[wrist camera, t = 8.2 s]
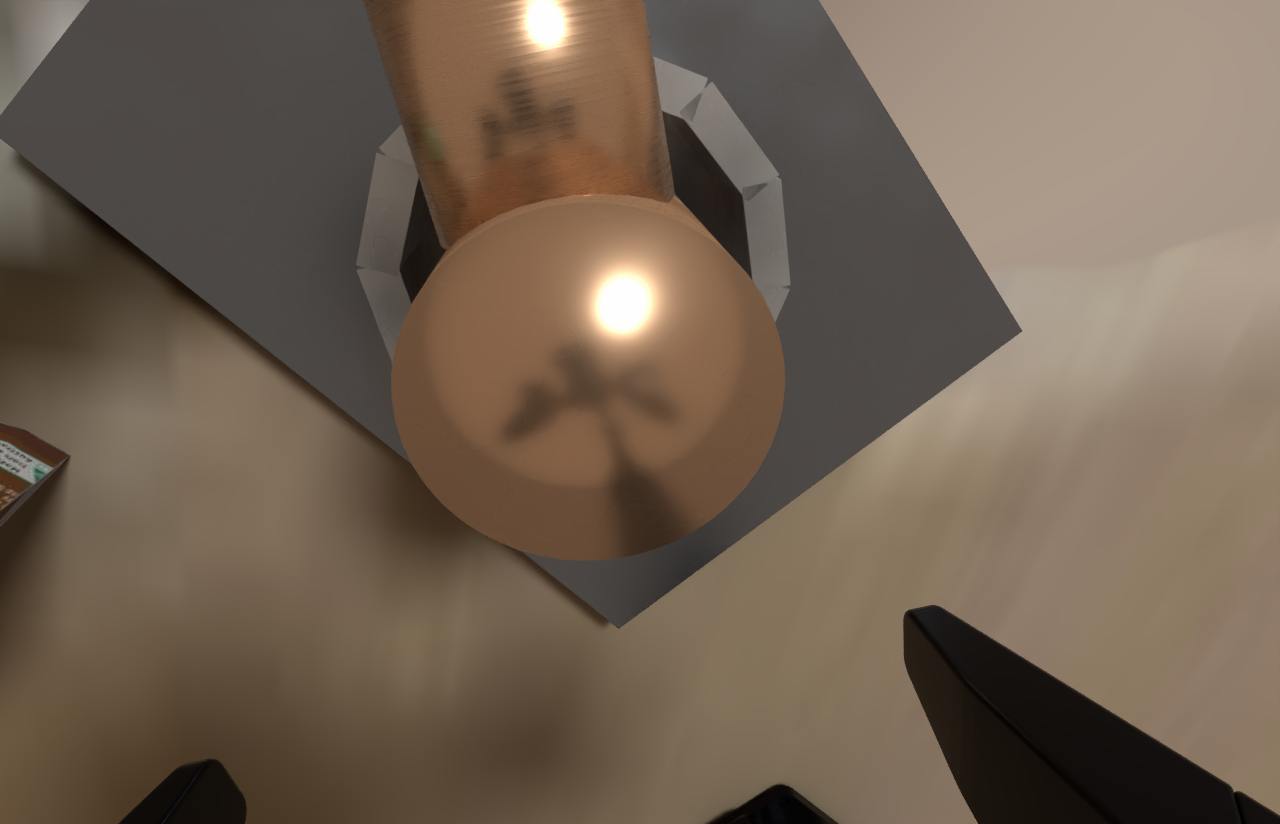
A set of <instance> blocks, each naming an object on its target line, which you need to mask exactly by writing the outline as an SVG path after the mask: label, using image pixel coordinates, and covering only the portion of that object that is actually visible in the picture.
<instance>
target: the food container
mask: <svg viewBox="0 0 1280 824" xmlns="http://www.w3.org/2000/svg"><path fill="white" fill-rule="evenodd" d="M69 456H70V455H68V454H67V453H65V452H63V451H61V450H60V449H58V448H56V447H54V446H52V445H51V444H49V443H47V442H45V441H44V440H42V439H40V438H38V437H37V436H35V435H33V434H31V433H29V432H28V431H26V430H23V429H20V428H17V427H14V426H11V425H8V424H5V423H2V422H0V527H1V526H2V525H3V524H4V523H5V522H6V521H7V519H8V518H9V517H10V516H11V515H12V514H13V513H14V512H15V511H16V510H17V509H18V508H19V507H20V506H21V505H22V504H23V503H24V502H25V501H26V500H27V499H28V498H29V497H30V496H31V495H32V494H33V493H34V492H35V491H36V490H37V489H38V488H39V487H40V486H41V485H42V484H43V483H44V482H45V481H46V480H47V479H48V478H49V477H50V476H51V475H52V474H53V473H54V472H55V471H56V470H57V469H58V468H59V467H60V466H61V465H62V464H63V462H64V461H65V460H66V459H67V458H68V457H69Z"/></svg>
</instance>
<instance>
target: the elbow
mask: <svg viewBox="0 0 1280 824" xmlns="http://www.w3.org/2000/svg"><path fill="white" fill-rule="evenodd" d="M362 1H363V4H364V7H365V10H366V13H367V17H368V20H369V23H370V26H371V29H372V32H373V35H374V39H375V42H376V45H377V48H378V51H379V54H380V57H381V60H382V64H383V67H384V70H385V73H386V76H387V79H388V82H389V85H390V89H391V92H392V95H393V98H394V101H395V104H396V107H397V111H398V114H399V117H400V120H401V123H402V126H403V129H404V132H405V136H406V139H407V142H408V145H409V148H410V151H411V154H412V158H413V161H414V164H415V167H416V170H417V173H418V176H419V179H420V183H421V186H422V189H423V192H424V195H425V198H426V201H427V205H428V208H429V211H430V214H431V217H432V220H433V223H434V226H435V230H436V233H437V236H438V239H439V242H440V245H441V247H443V248H444V249H446V251H445V253H444V254H443V256H442V257H441V259H440V260H439V262H438V263H437V265H436V267H435V268H434V270H433V271H432V273H431V274H430V276H429V277H428V279H427V281H426V282H425V284H424V285H423V287H422V288H421V290H420V291H419V293H418V295H417V296H416V298H415V299H414V301H413V302H412V305H411V307H410V309H409V311H408V313H407V315H406V317H405V320H404V322H403V324H402V326H401V330H400V333H399V336H398V340H397V343H396V347H395V350H394V357H393V365H392V372H391V397H392V405H393V411H394V417H395V423H396V426H397V429H398V432H399V435H400V438H401V441H402V445H403V447H404V449H405V451H406V453H407V455H408V457H409V459H410V461H411V463H412V465H413V467H414V469H415V470H416V472H417V473H418V475H419V476H420V478H421V479H422V481H423V482H424V484H425V485H426V486H427V487H428V489H429V490H430V491H431V492H432V493H433V494H434V495H435V497H436V498H437V499H438V500H439V501H440V502H441V503H442V504H443V505H444V506H445V507H446V508H447V509H448V510H450V511H451V512H452V513H453V514H454V515H455V516H456V517H457V518H459V519H460V520H462V521H463V522H465V523H466V524H467V525H469V526H470V527H472V528H473V529H475V530H476V531H478V532H480V533H482V534H483V535H485V536H487V537H489V538H491V539H493V540H495V541H497V542H499V543H502V544H504V545H507V546H509V547H512V548H514V549H517V550H520V551H524V552H527V553H531V554H535V555H538V556H543V557H549V558H556V559H562V560H580V561H591V560H609V559H615V558H621V557H627V556H632V555H636V554H640V553H643V552H647V551H651V550H654V549H657V548H659V547H662V546H664V545H667V544H669V543H672V542H674V541H676V540H678V539H680V538H682V537H684V536H686V535H688V534H690V533H692V532H694V531H695V530H697V529H698V528H700V527H701V526H703V525H704V524H706V523H707V522H709V521H710V520H712V519H713V518H714V517H715V516H717V515H718V514H719V513H720V512H721V511H722V510H724V509H725V508H726V507H727V506H728V505H730V504H731V502H732V501H733V500H734V499H735V498H736V497H737V496H738V495H739V494H740V493H741V492H742V491H743V490H744V489H745V487H746V486H747V485H748V483H749V482H750V480H751V479H752V478H753V476H754V475H755V474H756V472H757V471H758V469H759V468H760V466H761V464H762V462H763V460H764V459H765V457H766V455H767V453H768V451H769V449H770V447H771V444H772V442H773V439H774V437H775V434H776V432H777V429H778V425H779V421H780V417H781V413H782V409H783V401H784V392H785V363H784V357H783V351H782V345H781V340H780V337H779V334H778V330H777V327H776V324H775V321H774V318H773V316H772V314H771V312H770V310H769V308H768V306H767V304H766V302H765V300H764V298H763V296H762V294H761V293H760V291H759V290H758V288H757V287H756V285H755V284H754V283H753V281H752V280H751V278H750V277H749V275H748V274H747V273H746V272H745V271H744V270H743V268H742V267H741V266H740V265H739V264H738V263H737V262H736V261H735V260H734V259H733V257H732V256H731V255H730V254H729V253H728V252H727V251H726V250H725V249H724V248H723V246H722V245H721V244H720V243H719V242H718V241H717V240H716V239H715V238H714V237H713V235H712V234H711V233H710V232H709V231H708V230H707V229H706V228H705V227H704V226H703V224H702V223H701V222H700V221H699V220H698V219H697V218H696V217H695V216H694V215H693V213H692V212H691V211H690V210H689V209H688V208H687V207H686V206H685V205H684V204H683V202H682V201H681V200H680V199H679V198H678V197H677V196H676V195H675V190H674V184H673V178H672V172H671V165H670V159H669V153H668V146H667V140H666V134H665V127H664V121H663V115H662V109H661V102H660V96H659V90H658V83H657V77H656V71H655V64H654V58H653V52H652V46H651V39H650V33H649V27H648V20H647V14H646V8H645V1H644V0H362Z"/></svg>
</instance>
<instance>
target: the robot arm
mask: <svg viewBox="0 0 1280 824" xmlns="http://www.w3.org/2000/svg"><path fill="white" fill-rule="evenodd" d="M903 632H904V661H905V665H906V669H907V672H908V674H909V677H910V679H911V681H912V684H913V686H914V688H915V691H916V693H917V695H918V697H919V700H920V702H921V704H922V706H923V709H924V711H925V713H926V716H927V718H928V720H929V722H930V725H931V727H932V729H933V731H934V734H935V736H936V738H937V741H938V743H939V745H940V747H941V750H942V752H943V754H944V756H945V759H946V761H947V763H948V766H949V768H950V770H951V772H952V774H953V777H954V779H955V781H956V783H957V785H958V787H959V789H960V791H961V793H962V795H963V797H964V799H965V801H966V803H967V804H968V806H969V808H970V810H971V812H972V813H973V815H974V817H975V819H976V821H977V822H978V824H1280V815H1278V814H1276V813H1275V812H1273V811H1272V810H1270V809H1268V808H1267V807H1265V806H1263V805H1262V804H1260V803H1259V802H1257V801H1255V800H1254V799H1252V798H1250V797H1249V796H1247V795H1246V794H1244V793H1242V792H1240V791H1236V792H1234V791H1233V789H1232V787H1231V786H1230V785H1229V784H1227V783H1226V782H1224V781H1222V780H1221V779H1219V778H1218V777H1216V776H1214V775H1213V774H1211V773H1209V772H1208V771H1206V770H1205V769H1203V768H1201V767H1200V766H1198V765H1196V764H1195V763H1193V762H1192V761H1190V760H1188V759H1187V758H1185V757H1183V756H1182V755H1180V754H1179V753H1177V752H1175V751H1174V750H1172V749H1170V748H1169V747H1167V746H1166V745H1164V744H1162V743H1161V742H1159V741H1157V740H1156V739H1154V738H1153V737H1151V736H1149V735H1148V734H1146V733H1144V732H1143V731H1141V730H1140V729H1138V728H1136V727H1135V726H1133V725H1131V724H1130V723H1128V722H1127V721H1125V720H1123V719H1122V718H1120V717H1119V716H1117V715H1115V714H1114V713H1112V712H1110V711H1109V710H1107V709H1106V708H1104V707H1102V706H1101V705H1099V704H1097V703H1096V702H1094V701H1093V700H1091V699H1089V698H1088V697H1086V696H1084V695H1083V694H1081V693H1080V692H1078V691H1076V690H1075V689H1073V688H1071V687H1070V686H1068V685H1067V684H1065V683H1063V682H1062V681H1060V680H1058V679H1057V678H1055V677H1054V676H1052V675H1050V674H1049V673H1047V672H1045V671H1044V670H1042V669H1041V668H1039V667H1037V666H1036V665H1034V664H1032V663H1031V662H1029V661H1028V660H1026V659H1024V658H1023V657H1021V656H1019V655H1018V654H1016V653H1015V652H1013V651H1011V650H1010V649H1008V648H1007V647H1005V646H1003V645H1002V644H1000V643H998V642H997V641H995V640H994V639H992V638H990V637H989V636H987V635H985V634H984V633H982V632H981V631H979V630H977V629H976V628H974V627H972V626H971V625H969V624H968V623H966V622H964V621H963V620H961V619H959V618H958V617H956V616H955V615H953V614H951V613H950V612H948V611H946V610H945V609H943V608H941V607H939V606H936V605H929V606H925V607H920V608H915V609H910V610H908V611H906V613H905V615H904V619H903ZM246 811H247V808H246V801H245V798H244V796H243V794H242V792H241V791H240V789H239V788H238V786H237V785H236V784H235V782H234V781H233V779H232V778H231V776H230V775H229V773H228V772H227V770H226V769H225V767H224V766H223V764H222V763H221V762H220V761H218V760H216V759H206V760H201V761H196V762H192V763H187V764H184V765H182V766H180V767H178V768H177V769H176V770H175V771H173V772H172V773H171V774H170V775H169V776H168V777H167V778H166V779H165V780H164V781H163V782H162V783H161V784H160V785H159V786H157V787H156V788H155V789H154V790H153V791H152V792H151V793H150V794H149V795H148V796H147V797H146V798H145V799H144V800H143V801H142V802H141V803H140V804H139V805H137V806H136V807H135V808H134V809H133V810H132V811H131V812H130V813H129V814H128V815H127V816H126V817H125V818H124V819H123V820H122V821H121V822H120V823H119V824H245V821H246ZM720 824H838V823H837V822H835V821H834V820H833V819H831V818H830V817H829V816H828V815H826V814H825V813H824V812H822V811H821V810H820V809H819V808H817V807H816V806H815V805H813V804H812V803H811V802H809V801H808V800H807V799H806V798H804V797H803V796H802V795H800V794H799V793H798V792H796V791H795V790H794V789H793V788H791V787H789V786H781V787H778V788H776V789H774V790H772V791H771V792H769V793H767V794H766V795H764V796H763V797H761V798H759V799H758V800H756V801H755V802H753V803H752V804H750V805H748V806H747V807H745V808H744V809H742V810H740V811H739V812H737V813H736V814H734V815H732V816H731V817H729V818H728V819H726V820H724V821H723V822H721V823H720Z"/></svg>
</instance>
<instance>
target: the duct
mask: <svg viewBox="0 0 1280 824" xmlns="http://www.w3.org/2000/svg"><path fill="white" fill-rule="evenodd" d="M644 1H645V8H646V14H647V20H648V27H649V33H650V39H651V46H652V52H653V58H654V64H655V71H656V77H657V83H658V90H659V96H660V102H661V109H662V115H663V121H664V127H665V134H666V140H667V146H668V153H669V159H670V165H671V172H672V178H673V184H674V190H675V195H676V196H677V197H678V198H679V199H680V200H681V201H682V202H683V204H684V205H685V206H686V207H687V208H688V209H689V210H690V211H691V212H692V213H693V215H694V216H695V217H696V218H697V219H698V220H699V221H700V222H701V223H702V224H703V226H704V227H705V228H706V229H707V230H708V231H709V232H710V233H711V234H712V235H713V237H714V238H715V239H716V240H717V241H718V242H719V243H720V244H721V245H722V246H723V248H724V249H725V250H726V251H727V252H728V253H729V254H730V255H731V256H732V257H733V259H734V260H735V261H736V262H737V263H738V264H739V265H740V266H741V267H742V268H743V270H744V271H745V272H746V273H747V274H748V275H749V277H750V278H751V280H752V281H753V283H754V284H755V285H756V287H757V288H758V290H759V291H760V293H761V294H762V296H763V298H764V300H765V302H766V304H767V306H768V308H769V310H770V312H771V314H772V316H773V318H774V321H775V324H776V327H777V330H778V334H779V337H780V340H781V345H782V351H783V357H784V363H785V392H784V401H783V409H782V413H781V417H780V421H779V425H778V429H777V432H776V434H775V437H774V439H773V442H772V444H771V447H770V449H769V451H768V453H767V455H766V457H765V459H764V460H763V462H762V464H761V466H760V468H759V469H758V471H757V472H756V474H755V475H754V476H753V478H752V479H751V480H750V482H749V483H748V485H747V486H746V487H745V489H744V490H743V491H742V492H741V493H740V494H739V495H738V496H737V497H736V498H735V499H734V500H733V501H732V502H731V504H730V505H728V506H727V507H726V508H725V509H724V510H722V511H721V512H720V513H719V514H718V515H717V516H715V517H714V518H713V519H712V520H710V521H709V522H707V523H706V524H704V525H703V526H701V527H700V528H698V529H697V530H695V531H694V532H692V533H690V534H688V535H686V536H684V537H682V538H680V539H678V540H676V541H674V542H672V543H669V544H667V545H664V546H662V547H659V548H657V549H654V550H651V551H647V552H643V553H640V554H636V555H632V556H627V557H621V558H615V559H609V560H591V561H580V560H562V559H556V558H549V557H543V556H538V555H535V554H531V553H527V552H524V551H521V552H523V553H524V554H525V555H526V556H528V557H529V558H530V559H531V560H533V561H534V562H535V563H537V564H538V565H539V566H540V567H542V568H543V569H544V570H545V571H547V572H548V573H549V574H550V575H552V576H553V577H554V578H555V579H557V580H558V581H559V582H561V583H562V584H563V585H564V586H566V587H567V588H568V589H569V590H571V591H572V592H573V593H574V594H576V595H577V596H578V597H579V598H581V599H582V600H583V601H584V602H586V603H587V604H588V605H590V606H591V607H592V608H593V609H595V610H596V611H597V612H598V613H600V614H601V615H602V616H603V617H605V618H606V619H607V620H608V621H610V622H611V623H612V624H613V625H615V626H616V627H617V628H620V627H622V626H623V625H624V624H626V623H627V622H628V621H630V620H631V619H633V618H634V617H635V616H637V615H638V614H639V613H641V612H642V611H643V610H645V609H646V608H647V607H649V606H650V605H652V604H653V603H654V602H656V601H657V600H658V599H660V598H661V597H662V596H664V595H665V594H666V593H668V592H669V591H671V590H672V589H673V588H675V587H676V586H677V585H679V584H680V583H681V582H683V581H684V580H685V579H687V578H688V577H689V576H691V575H692V574H694V573H695V572H696V571H698V570H699V569H700V568H702V567H703V566H704V565H706V564H707V563H708V562H710V561H711V560H713V559H714V558H715V557H717V556H718V555H719V554H721V553H722V552H723V551H725V550H726V549H727V548H729V547H730V546H732V545H733V544H734V543H736V542H737V541H738V540H740V539H741V538H742V537H744V536H745V535H746V534H748V533H749V532H751V531H752V530H753V529H755V528H756V527H757V526H759V525H760V524H761V523H763V522H764V521H765V520H767V519H768V518H770V517H771V516H772V515H774V514H775V513H776V512H778V511H779V510H780V509H782V508H783V507H784V506H786V505H787V504H788V503H790V502H791V501H793V500H794V499H795V498H797V497H798V496H799V495H801V494H802V493H803V492H805V491H806V490H807V489H809V488H810V487H812V486H813V485H814V484H816V483H817V482H818V481H820V480H821V479H822V478H824V477H825V476H826V475H828V474H829V473H831V472H832V471H833V470H835V469H836V468H837V467H839V466H840V465H841V464H843V463H844V462H845V461H847V460H848V459H850V458H851V457H852V456H854V455H855V454H856V453H858V452H859V451H860V450H862V449H863V448H864V447H866V446H867V445H869V444H870V443H871V442H873V441H874V440H875V439H877V438H878V437H879V436H881V435H882V434H883V433H885V432H886V431H887V430H889V429H890V428H892V427H893V426H894V425H896V424H897V423H898V422H900V421H901V420H902V419H904V418H905V417H906V416H908V415H909V414H911V413H912V412H913V411H915V410H916V409H917V408H919V407H920V406H921V405H923V404H924V403H925V402H927V401H928V400H930V399H931V398H932V397H934V396H935V395H936V394H938V393H939V392H940V391H942V390H943V389H944V388H946V387H947V386H949V385H950V384H951V383H953V382H954V381H955V380H957V379H958V378H959V377H961V376H962V375H963V374H965V373H966V372H968V371H969V370H970V369H972V368H973V367H974V366H976V365H977V364H978V363H980V362H981V361H982V360H984V359H985V358H986V357H988V356H989V355H991V354H992V353H993V352H995V351H996V350H997V349H999V348H1000V347H1001V346H1003V345H1004V344H1005V343H1007V342H1008V341H1010V340H1011V339H1012V338H1014V337H1015V336H1016V335H1018V334H1019V333H1020V332H1022V330H1021V328H1020V327H1019V325H1018V323H1017V322H1016V320H1015V319H1014V317H1013V315H1012V314H1011V312H1010V310H1009V309H1008V307H1007V306H1006V304H1005V302H1004V301H1003V299H1002V297H1001V296H1000V294H999V293H998V291H997V289H996V288H995V286H994V284H993V283H992V281H991V280H990V278H989V276H988V275H987V273H986V271H985V270H984V268H983V267H982V265H981V263H980V262H979V260H978V258H977V257H976V255H975V254H974V252H973V250H972V249H971V247H970V246H969V244H968V242H967V241H966V239H965V237H964V236H963V234H962V233H961V231H960V229H959V228H958V226H957V224H956V223H955V221H954V219H953V218H952V216H951V215H950V213H949V211H948V210H947V208H946V206H945V205H944V203H943V202H942V200H941V198H940V197H939V195H938V193H937V192H936V190H935V189H934V187H933V185H932V184H931V182H930V180H929V179H928V177H927V176H926V174H925V172H924V171H923V169H922V167H921V166H920V164H919V163H918V161H917V159H916V158H915V156H914V154H913V153H912V151H911V150H910V148H909V146H908V145H907V143H906V142H905V140H904V138H903V137H902V135H901V133H900V132H899V130H898V128H897V127H896V125H895V123H894V122H893V120H892V119H891V117H890V115H889V114H888V112H887V110H886V109H885V107H884V106H883V104H882V103H881V101H880V99H879V98H878V96H877V94H876V93H875V91H874V89H873V88H872V86H871V85H870V83H869V81H868V80H867V78H866V77H865V75H864V73H863V71H862V70H861V68H860V67H859V65H858V64H857V62H856V60H855V58H854V57H853V55H852V54H851V52H850V50H849V49H848V47H847V46H846V44H845V42H844V41H843V39H842V37H841V36H840V34H839V32H838V31H837V29H836V28H835V26H834V24H833V23H832V21H831V19H830V18H829V16H828V15H827V13H826V11H825V10H824V8H823V7H822V5H821V3H820V2H819V0H644ZM0 139H2V140H3V141H4V142H6V143H7V144H8V145H9V146H11V147H12V148H13V149H14V150H16V151H17V152H18V153H19V154H21V155H22V156H23V157H24V158H26V159H27V160H28V161H30V162H31V163H32V164H33V165H35V166H36V167H37V168H38V169H40V170H41V171H42V172H43V173H45V174H46V175H47V176H48V177H50V178H51V179H52V180H53V181H55V182H56V183H57V184H59V185H60V186H61V187H62V188H64V189H65V190H66V191H67V192H69V193H70V194H71V195H72V196H74V197H75V198H76V199H77V200H79V201H80V202H81V203H82V204H84V205H85V206H86V207H88V208H89V209H90V210H91V211H93V212H94V213H95V214H96V215H98V216H99V217H100V218H101V219H103V220H104V221H105V222H106V223H108V224H109V225H110V226H111V227H113V228H114V229H115V230H117V231H118V232H119V233H120V234H122V235H123V236H124V237H125V238H127V239H128V240H129V241H130V242H132V243H133V244H134V245H135V246H137V247H138V248H139V249H140V250H142V251H143V252H144V253H146V254H147V255H148V256H149V257H151V258H152V259H153V260H154V261H156V262H157V263H158V264H159V265H161V266H162V267H163V268H164V269H166V270H167V271H168V272H170V273H171V274H172V275H173V276H175V277H176V278H177V279H178V280H180V281H181V282H182V283H183V284H185V285H186V286H187V287H188V288H190V289H191V290H192V291H193V292H195V293H196V294H197V295H199V296H200V297H201V298H202V299H204V300H205V301H206V302H207V303H209V304H210V305H211V306H212V307H214V308H215V309H216V310H217V311H219V312H220V313H221V314H222V315H224V316H225V317H226V318H228V319H229V320H230V321H231V322H233V323H234V324H235V325H236V326H238V327H239V328H240V329H241V330H243V331H244V332H245V333H246V334H248V335H249V336H250V337H251V338H253V339H254V340H255V341H257V342H258V343H259V344H260V345H262V346H263V347H264V348H265V349H267V350H268V351H269V352H270V353H272V354H273V355H274V356H275V357H277V358H278V359H279V360H281V361H282V362H283V363H284V364H286V365H287V366H288V367H289V368H291V369H292V370H293V371H294V372H296V373H297V374H298V375H299V376H301V377H302V378H303V379H304V380H306V381H307V382H308V383H310V384H311V385H312V386H313V387H315V388H316V389H317V390H318V391H320V392H321V393H322V394H323V395H325V396H326V397H327V398H328V399H330V400H331V401H332V402H333V403H335V404H336V405H337V406H339V407H340V408H341V409H342V410H344V411H345V412H346V413H347V414H349V415H350V416H351V417H352V418H354V419H355V420H356V421H357V422H359V423H360V424H361V425H362V426H364V427H365V428H366V429H368V430H369V431H370V432H371V433H373V434H374V435H375V436H376V437H378V438H379V439H380V440H381V441H383V442H384V443H385V444H386V445H388V446H389V447H390V448H391V449H393V450H394V451H395V452H397V453H398V454H399V455H400V456H402V457H403V458H404V459H405V460H407V461H408V462H409V463H410V464H412V463H411V461H410V459H409V457H408V455H407V453H406V451H405V449H404V447H403V445H402V441H401V438H400V435H399V432H398V429H397V426H396V423H395V417H394V411H393V405H392V397H391V372H392V365H393V357H394V350H395V347H396V343H397V340H398V336H399V333H400V330H401V326H402V324H403V322H404V320H405V317H406V315H407V313H408V311H409V309H410V307H411V305H412V302H413V301H414V299H415V298H416V296H417V295H418V293H419V291H420V290H421V288H422V287H423V285H424V284H425V282H426V281H427V279H428V277H429V276H430V274H431V273H432V271H433V270H434V268H435V267H436V265H437V263H438V262H439V260H440V259H441V257H442V256H443V254H444V253H445V251H446V249H444V248H443V247H441V245H440V242H439V239H438V236H437V233H436V230H435V226H434V223H433V220H432V217H431V214H430V211H429V208H428V205H427V201H426V198H425V195H424V192H423V189H422V186H421V183H420V179H419V176H418V173H417V170H416V167H415V164H414V161H413V158H412V154H411V151H410V148H409V145H408V142H407V139H406V136H405V132H404V129H403V126H402V123H401V120H400V117H399V114H398V111H397V107H396V104H395V101H394V98H393V95H392V92H391V89H390V85H389V82H388V79H387V76H386V73H385V70H384V67H383V64H382V60H381V57H380V54H379V51H378V48H377V45H376V42H375V39H374V35H373V32H372V29H371V26H370V23H369V20H368V17H367V13H366V10H365V7H364V4H363V1H362V0H90V1H89V2H88V3H87V5H86V6H85V7H84V8H83V10H82V11H81V12H80V14H79V15H78V16H77V17H76V19H75V20H74V21H73V23H72V24H71V25H70V26H69V28H68V29H67V30H66V32H65V33H64V34H63V35H62V37H61V38H60V39H59V41H58V42H57V43H56V44H55V46H54V47H53V48H52V50H51V51H50V52H49V53H48V55H47V56H46V57H45V59H44V60H43V61H42V62H41V64H40V65H39V66H38V68H37V69H36V70H35V71H34V73H33V74H32V75H31V77H30V78H29V79H28V80H27V82H26V83H25V84H24V86H23V87H22V88H21V89H20V91H19V92H18V93H17V95H16V96H15V97H14V98H13V100H12V101H11V102H10V104H9V105H8V106H7V107H6V109H5V110H4V111H3V113H2V114H1V115H0Z"/></svg>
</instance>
